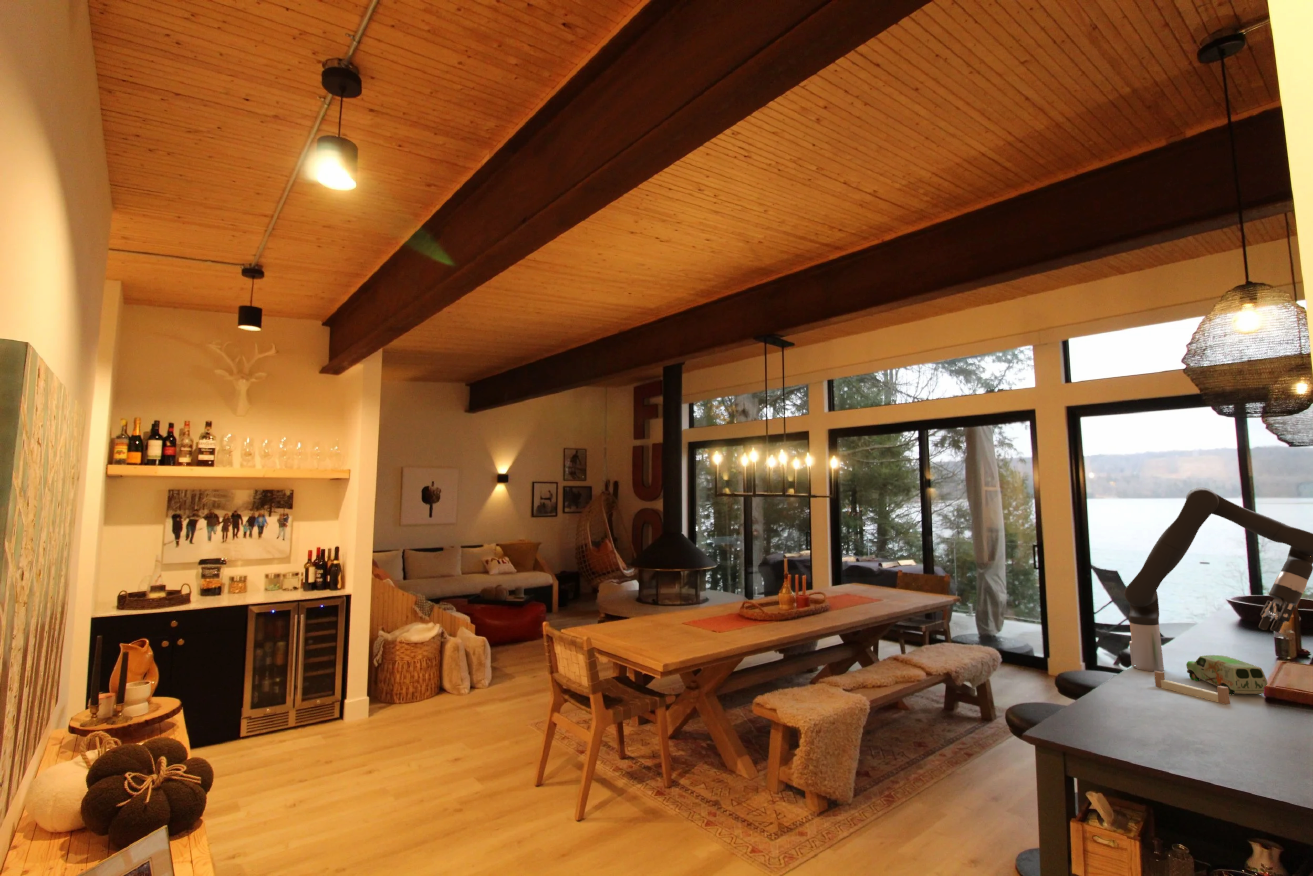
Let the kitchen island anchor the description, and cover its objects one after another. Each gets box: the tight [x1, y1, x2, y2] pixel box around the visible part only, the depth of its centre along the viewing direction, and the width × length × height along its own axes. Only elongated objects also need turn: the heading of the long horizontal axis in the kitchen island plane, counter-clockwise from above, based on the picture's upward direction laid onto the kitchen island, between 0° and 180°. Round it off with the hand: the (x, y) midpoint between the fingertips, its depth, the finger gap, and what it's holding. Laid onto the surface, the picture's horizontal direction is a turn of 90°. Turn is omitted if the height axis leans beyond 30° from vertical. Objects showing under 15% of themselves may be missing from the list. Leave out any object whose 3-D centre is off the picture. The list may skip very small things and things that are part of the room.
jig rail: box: [1153, 671, 1231, 705], centre depth 217 cm, size 22×2×5 cm, turn 16°
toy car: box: [1185, 654, 1268, 696], centre depth 224 cm, size 11×25×10 cm, turn 172°
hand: (1268, 630), depth 222 cm, fingers open, 8 cm apart
